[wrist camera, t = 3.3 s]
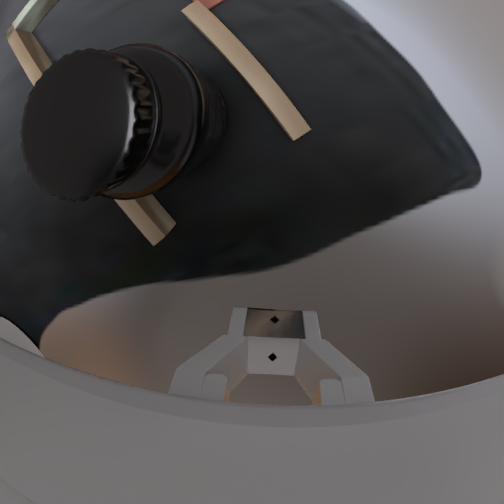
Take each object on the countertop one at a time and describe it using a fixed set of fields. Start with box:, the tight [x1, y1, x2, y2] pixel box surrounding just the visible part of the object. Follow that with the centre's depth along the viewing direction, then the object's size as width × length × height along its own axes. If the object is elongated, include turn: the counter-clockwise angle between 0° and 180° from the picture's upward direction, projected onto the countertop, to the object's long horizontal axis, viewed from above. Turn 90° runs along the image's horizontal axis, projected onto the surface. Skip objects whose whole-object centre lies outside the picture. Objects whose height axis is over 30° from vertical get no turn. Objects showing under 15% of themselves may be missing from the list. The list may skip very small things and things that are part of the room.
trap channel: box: [5, 0, 311, 246], centre depth 14 cm, size 18×26×2 cm
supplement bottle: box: [20, 44, 228, 202], centre depth 11 cm, size 7×7×12 cm
